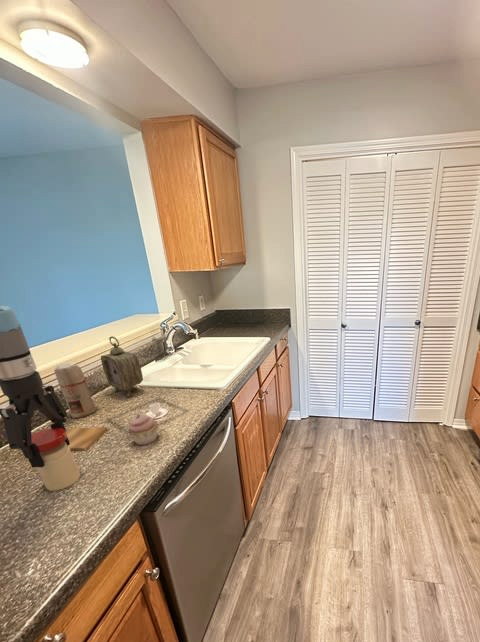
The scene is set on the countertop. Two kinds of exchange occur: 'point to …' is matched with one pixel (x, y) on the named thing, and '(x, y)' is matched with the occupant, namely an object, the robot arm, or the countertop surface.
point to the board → (83, 437)
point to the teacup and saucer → (156, 411)
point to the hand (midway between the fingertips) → (52, 455)
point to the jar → (58, 468)
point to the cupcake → (143, 429)
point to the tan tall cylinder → (75, 390)
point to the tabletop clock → (121, 368)
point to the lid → (48, 438)
